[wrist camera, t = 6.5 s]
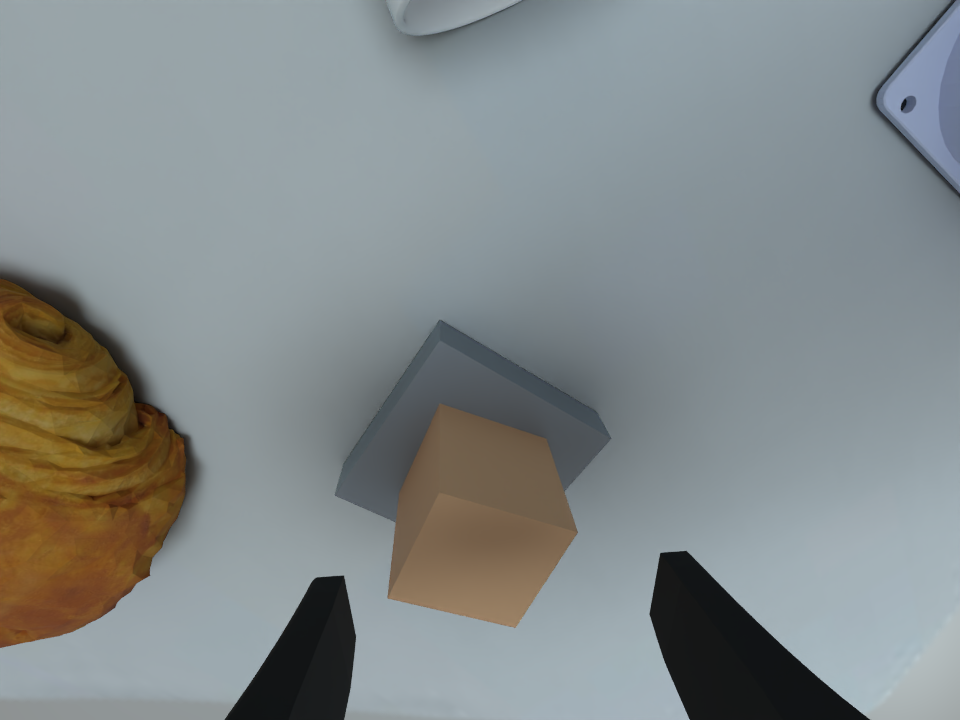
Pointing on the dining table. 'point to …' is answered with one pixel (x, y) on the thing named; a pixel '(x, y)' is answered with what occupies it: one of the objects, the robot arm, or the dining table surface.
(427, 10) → the white cup
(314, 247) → the dining table surface
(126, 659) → the dining table surface
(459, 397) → the slate coaster
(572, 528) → the tan rectangular block
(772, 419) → the dining table surface
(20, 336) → the croissant
